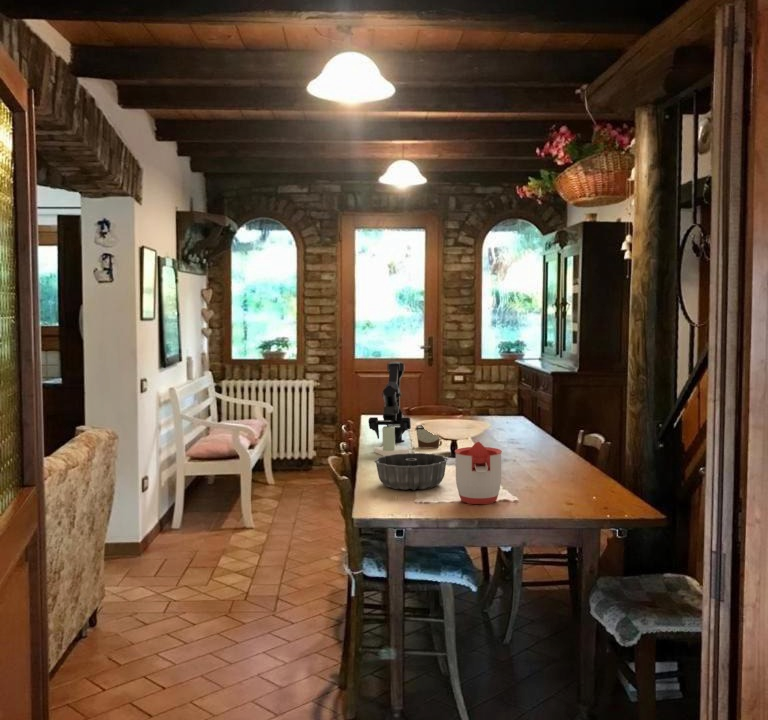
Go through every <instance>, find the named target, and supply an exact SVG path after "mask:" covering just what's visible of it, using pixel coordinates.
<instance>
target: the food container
mask: <svg viewBox="0 0 768 720" xmlns="http://www.w3.org/2000/svg"><path fill="white" fill-rule="evenodd" d="M422 425H423V424H418V425H416V426H415V428H414V431H416V438H417V445H418V447H439V446H440V439H441V438H440V437H441V436H440V437H438V436H436V435H433V434H432V433H430V432H428V431H427V430H425V429H424V427H423V426H422Z"/></svg>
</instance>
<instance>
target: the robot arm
mask: <svg viewBox="0 0 768 720" xmlns="http://www.w3.org/2000/svg"><path fill="white" fill-rule="evenodd" d="M405 369H406V366H405V363H403V361H389V363H386V371H387V372H388V383H387V384H385V387H384V389H383V391H382V394H381V395H382V398H383V401H384V406H383V407H382V419H379V418H378V417H376V416H374V417H369V418H368V427H369V429H370V430H372V431H374V432H375V434H376V437H377V440H379V439H380V431H379V429H380V428H379V426H395V443H401V442H402V443H404V442H405V440H404V439H403V434H404V433H405V432H406V431H408V430H411V427H412V423H411V421H412V420H411V417H409V416H408V417H405V416H404V415H403V414H404V413H403V412H402V410H401V396H402V392H401V380H402V377H403V376H404V372H405V371H406V370H405Z"/></svg>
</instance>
